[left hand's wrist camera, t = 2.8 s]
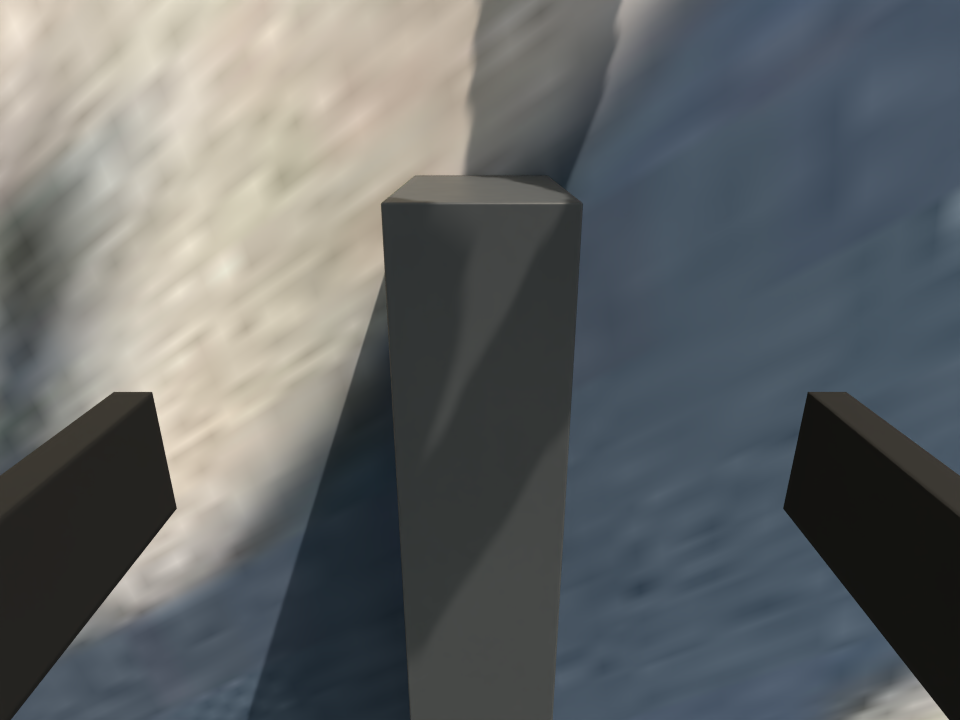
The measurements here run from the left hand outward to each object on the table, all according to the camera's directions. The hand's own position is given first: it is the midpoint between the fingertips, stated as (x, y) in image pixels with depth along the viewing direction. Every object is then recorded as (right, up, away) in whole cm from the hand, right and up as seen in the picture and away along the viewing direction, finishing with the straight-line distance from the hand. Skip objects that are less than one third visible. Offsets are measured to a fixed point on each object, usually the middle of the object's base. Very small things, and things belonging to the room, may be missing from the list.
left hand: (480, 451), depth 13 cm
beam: (0, -23, +22) cm, 32 cm away
